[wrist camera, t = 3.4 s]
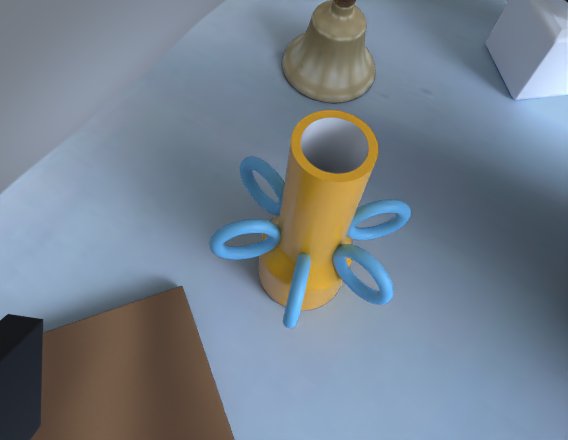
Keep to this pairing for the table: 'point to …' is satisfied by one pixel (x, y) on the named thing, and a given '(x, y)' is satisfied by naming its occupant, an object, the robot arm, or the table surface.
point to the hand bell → (331, 55)
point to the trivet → (130, 376)
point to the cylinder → (316, 216)
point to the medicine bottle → (532, 47)
